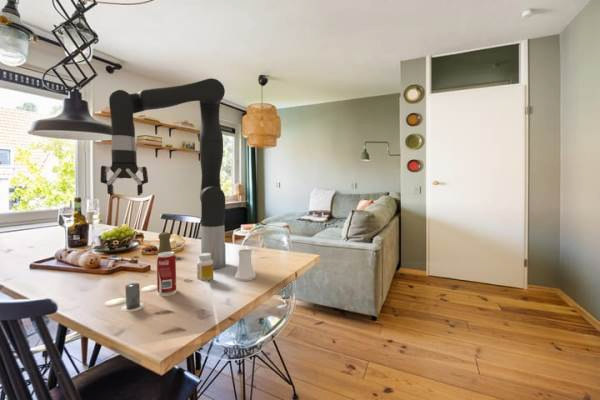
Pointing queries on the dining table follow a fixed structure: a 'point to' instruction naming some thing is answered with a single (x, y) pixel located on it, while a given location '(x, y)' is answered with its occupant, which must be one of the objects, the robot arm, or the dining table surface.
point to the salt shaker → (245, 266)
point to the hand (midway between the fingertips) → (125, 195)
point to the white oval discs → (123, 300)
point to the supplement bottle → (205, 267)
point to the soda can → (166, 273)
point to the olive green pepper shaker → (164, 242)
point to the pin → (132, 296)
